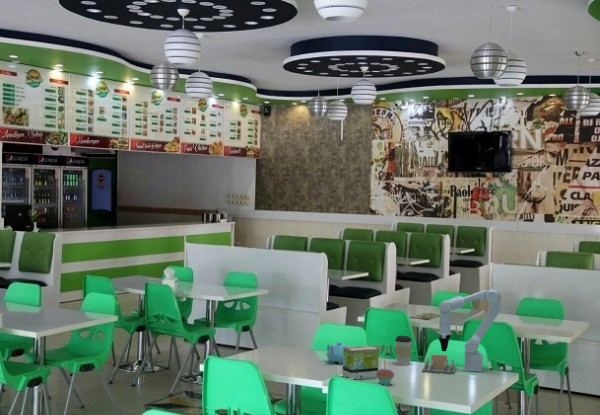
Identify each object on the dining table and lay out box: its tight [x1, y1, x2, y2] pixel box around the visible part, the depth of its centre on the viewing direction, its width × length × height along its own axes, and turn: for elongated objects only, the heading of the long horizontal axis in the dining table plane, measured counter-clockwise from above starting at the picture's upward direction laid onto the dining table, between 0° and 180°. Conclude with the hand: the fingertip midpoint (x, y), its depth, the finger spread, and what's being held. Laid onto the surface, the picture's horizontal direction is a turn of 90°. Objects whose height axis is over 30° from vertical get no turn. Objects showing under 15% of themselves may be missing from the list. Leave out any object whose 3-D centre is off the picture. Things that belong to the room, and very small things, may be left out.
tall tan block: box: [430, 353, 448, 369], centre depth 402 cm, size 8×2×7 cm, turn 75°
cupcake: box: [376, 359, 395, 386], centre depth 370 cm, size 9×8×12 cm
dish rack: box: [421, 357, 457, 375], centre depth 402 cm, size 16×14×5 cm
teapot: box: [326, 341, 349, 365], centre depth 419 cm, size 13×14×11 cm
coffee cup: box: [394, 335, 413, 366], centre depth 418 cm, size 9×9×15 cm
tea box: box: [342, 345, 380, 380], centre depth 384 cm, size 15×10×15 cm, turn 117°
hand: (444, 349), depth 409 cm, fingers open, 7 cm apart
